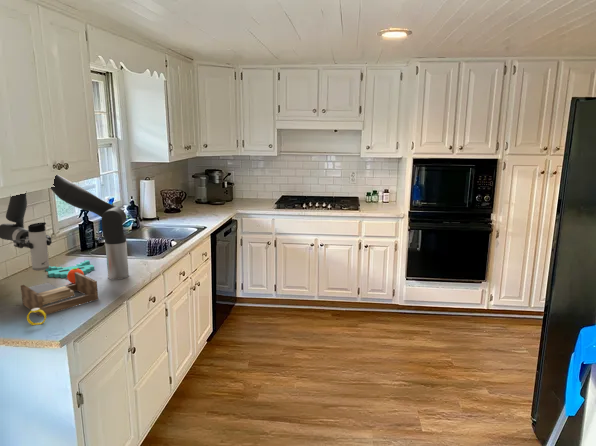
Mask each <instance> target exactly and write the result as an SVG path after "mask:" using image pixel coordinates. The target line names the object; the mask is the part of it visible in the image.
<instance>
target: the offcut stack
mask: <svg viewBox="0 0 596 446" xmlns="http://www.w3.org/2000/svg"><path fill="white" fill-rule="evenodd" d="M38 294H40V295H41V296H42V303H43V306H44V305H45V306H46V305H49V304H52V303H54V302H55V303H56V302H59V301H62V300H65V298H66V299H68V297H69V298H72V297H71V296H73V297H75V296H76V295H75V291H73V290H70V288H67V287H65V285H64V286H61V287H57V289H53V290H49V291H46V292H42V293H38ZM61 299H62V300H61ZM58 300H59V301H58ZM51 302H52V303H51ZM48 303H49V304H48Z"/></svg>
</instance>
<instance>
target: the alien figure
mask: <svg viewBox="0 0 596 446" xmlns="http://www.w3.org/2000/svg"><path fill="white" fill-rule="evenodd" d="M73 268H77V269H80V270H82V271H83V273H84V275H87V274H88V273H91V271H95V266H94V264H91V263H90V260H89V259H87V260H83V262H82V261H81V262H79V263H77V264H75V265H72V266H65V267H64V266H51V265H49V268H48V269H46V270H45V271H46V272H47V276H48V277H49V278H53V277H54V278H55V279H56V278H61V279H65V278H66V279H67V280H68V278H67V275H68V272H69V271H70V270H72V269H73Z"/></svg>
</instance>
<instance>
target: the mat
mask: <svg viewBox="0 0 596 446" xmlns="http://www.w3.org/2000/svg"><path fill="white" fill-rule="evenodd" d="M27 287H28V288H30V289H31V290H33V291H35V292H36V293H41V292H45V291H49V290H53V289H57V288H58V287H57V286H55V285H53V284H51V283H50V282H44V283H41V284H36V285H32V286H27Z"/></svg>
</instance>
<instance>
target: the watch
mask: <svg viewBox="0 0 596 446" xmlns="http://www.w3.org/2000/svg"><path fill="white" fill-rule="evenodd" d="M35 312H41V313H42V314H43V315H44V316H43V321H42V322H41V321H40V322H33V321H31V319H30V314H31V313H35ZM46 320H47V315H46V313H45V312H44V311H43V310H40V308H34V309H32V310H30V311H29V312H28V314H27V315H26V321H27V322H28V324H30V326H36V325H37V326H39V325H43V324H44V323H45V321H46Z"/></svg>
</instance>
